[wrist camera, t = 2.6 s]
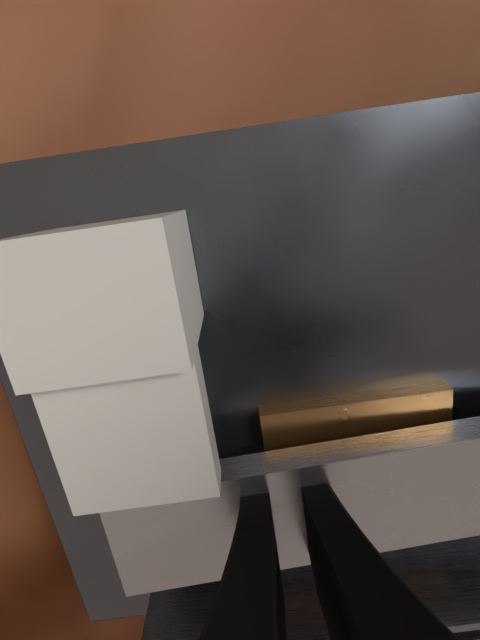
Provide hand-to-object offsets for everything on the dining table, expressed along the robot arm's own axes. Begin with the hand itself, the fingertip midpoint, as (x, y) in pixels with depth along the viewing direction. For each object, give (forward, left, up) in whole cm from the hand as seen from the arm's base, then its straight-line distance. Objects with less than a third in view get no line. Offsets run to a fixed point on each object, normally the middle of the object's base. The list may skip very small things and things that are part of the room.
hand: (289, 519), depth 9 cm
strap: (-2, 0, -1) cm, 3 cm away
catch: (+3, -5, -2) cm, 6 cm away
